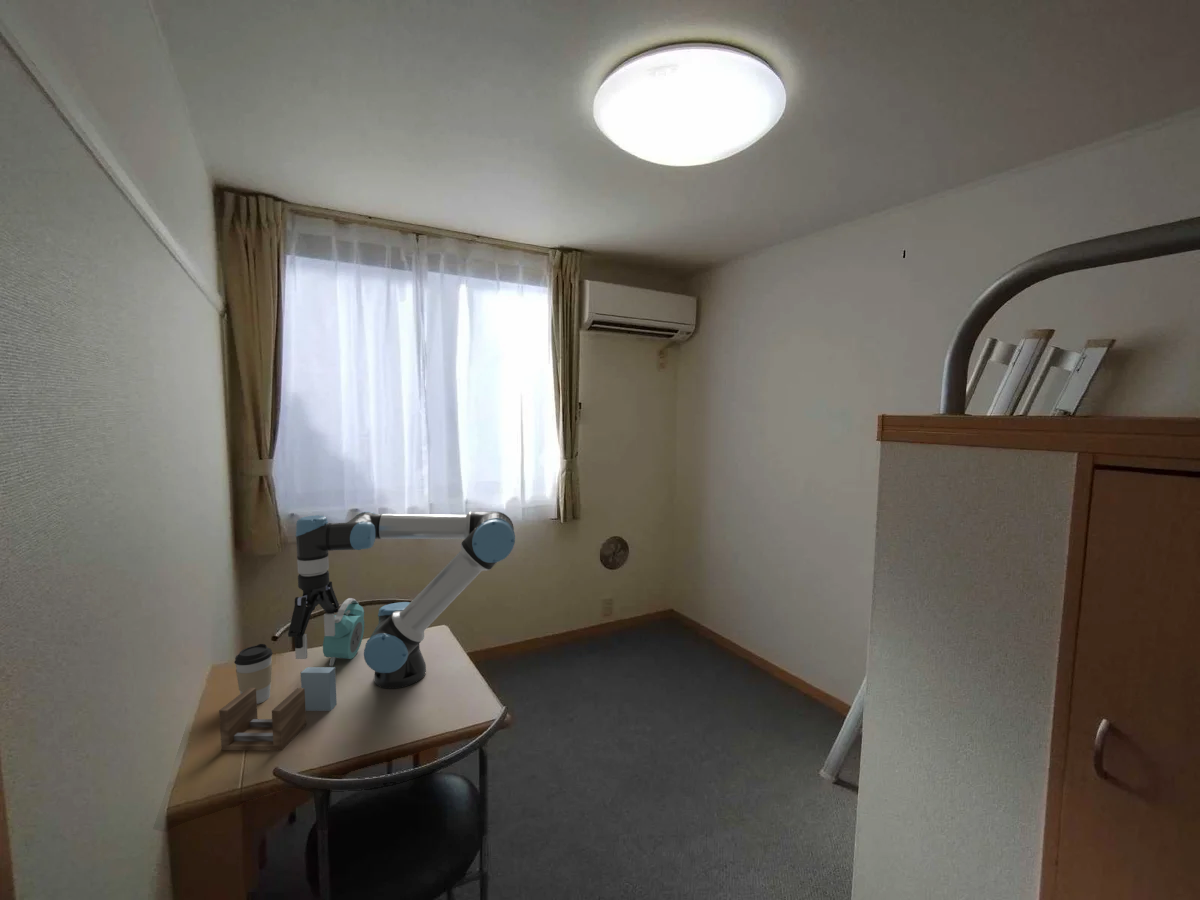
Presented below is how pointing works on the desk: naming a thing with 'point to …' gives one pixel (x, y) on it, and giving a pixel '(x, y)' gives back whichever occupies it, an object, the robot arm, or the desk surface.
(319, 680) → the door panel
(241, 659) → the coffee cup
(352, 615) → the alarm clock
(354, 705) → the desk surface
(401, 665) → the robot arm
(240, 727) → the frame
